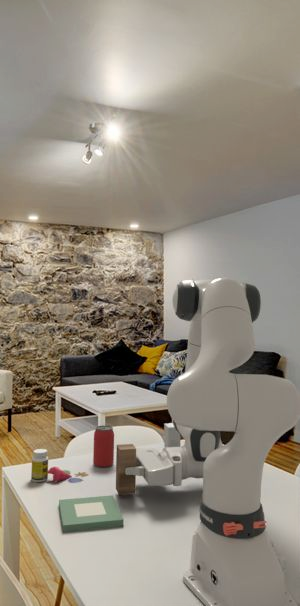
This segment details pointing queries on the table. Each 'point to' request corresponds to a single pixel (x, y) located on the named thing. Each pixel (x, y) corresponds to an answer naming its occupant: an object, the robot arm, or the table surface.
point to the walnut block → (123, 459)
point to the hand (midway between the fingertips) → (122, 467)
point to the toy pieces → (65, 475)
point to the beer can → (103, 446)
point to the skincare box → (171, 436)
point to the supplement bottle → (39, 465)
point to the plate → (89, 513)
